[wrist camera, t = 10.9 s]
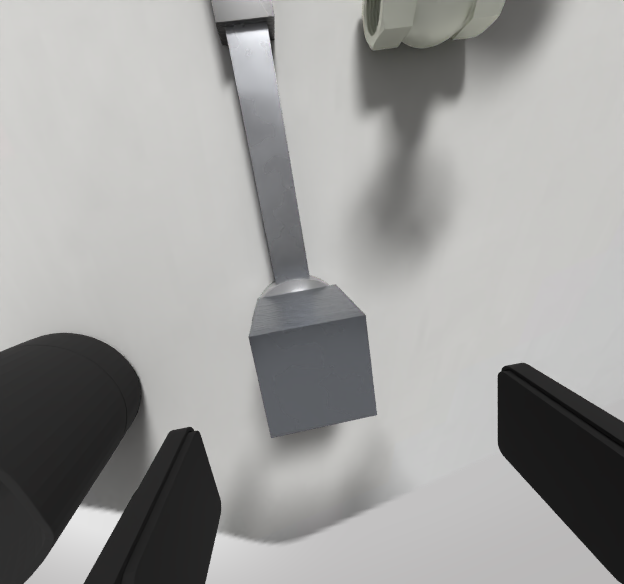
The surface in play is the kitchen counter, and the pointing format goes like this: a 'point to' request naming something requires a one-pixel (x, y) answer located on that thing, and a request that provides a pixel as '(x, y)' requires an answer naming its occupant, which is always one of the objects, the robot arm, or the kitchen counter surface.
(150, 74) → the kitchen counter surface
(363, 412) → the brushed steel cube
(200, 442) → the robot arm
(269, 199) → the ratchet
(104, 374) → the pen holder
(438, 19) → the valve
